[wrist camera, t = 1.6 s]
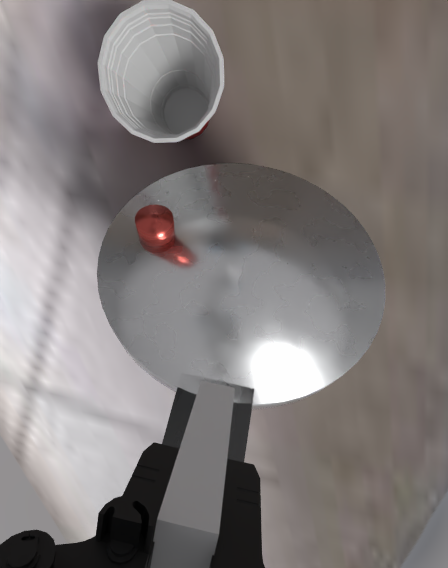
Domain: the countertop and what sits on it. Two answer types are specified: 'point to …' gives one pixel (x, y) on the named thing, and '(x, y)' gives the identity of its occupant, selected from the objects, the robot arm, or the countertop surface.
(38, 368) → the countertop surface
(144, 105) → the plastic cup
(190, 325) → the cooker lid
